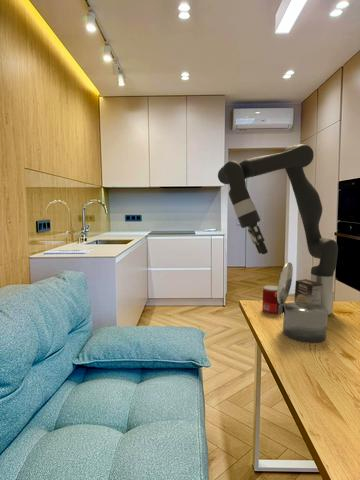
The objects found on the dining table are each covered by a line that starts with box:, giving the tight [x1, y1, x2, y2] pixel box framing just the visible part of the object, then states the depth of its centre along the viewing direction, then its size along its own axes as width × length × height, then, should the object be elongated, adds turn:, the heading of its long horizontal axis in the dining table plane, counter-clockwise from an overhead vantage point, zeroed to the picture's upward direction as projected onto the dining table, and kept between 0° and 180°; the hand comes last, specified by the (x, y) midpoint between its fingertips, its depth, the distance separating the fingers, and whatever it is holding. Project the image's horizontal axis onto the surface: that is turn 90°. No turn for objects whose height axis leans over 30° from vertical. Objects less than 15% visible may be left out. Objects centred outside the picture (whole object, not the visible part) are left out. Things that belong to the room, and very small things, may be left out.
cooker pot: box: [278, 301, 329, 344], centre depth 121 cm, size 17×15×10 cm
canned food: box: [261, 284, 281, 315], centre depth 146 cm, size 8×8×11 cm
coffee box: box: [293, 278, 322, 306], centre depth 136 cm, size 9×6×16 cm
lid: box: [274, 261, 294, 304], centre depth 124 cm, size 16×16×3 cm
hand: (263, 253), depth 121 cm, fingers open, 8 cm apart
